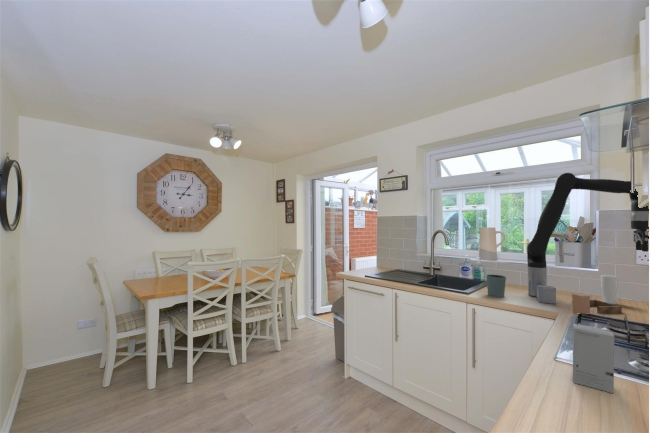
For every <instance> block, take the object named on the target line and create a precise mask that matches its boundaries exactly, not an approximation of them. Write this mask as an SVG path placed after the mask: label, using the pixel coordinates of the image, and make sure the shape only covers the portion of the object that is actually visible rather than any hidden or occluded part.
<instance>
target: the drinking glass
mask: <svg viewBox="0 0 650 433" xmlns="http://www.w3.org/2000/svg"><path fill="white" fill-rule="evenodd" d="M618 279H619V278H618V276H617V275H612V274H601V275H600V286H601V288H600V289H601V294H602V296H601V297H602V302H606V303H610V304H614V305H617V298H618V296H617V295H618V288H619V287H618V286H619V280H618Z"/></svg>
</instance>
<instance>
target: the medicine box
mask: <svg viewBox="0 0 650 433" xmlns="http://www.w3.org/2000/svg"><path fill="white" fill-rule="evenodd" d="M536 301H537V302H538V303H541V304H542V303H543V304H554V305H555V304H557V288H556V287H555V286H553V285H552V286H551V285H550V286H549V285H547V286H538V285H537V297H536Z"/></svg>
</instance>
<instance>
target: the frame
mask: <svg viewBox="0 0 650 433" xmlns="http://www.w3.org/2000/svg"><path fill="white" fill-rule="evenodd" d="M590 307H596V313H597V312H598V313H597V314H619V313H620V314H622V312H623V309H622V308H623V307H622V306H621V305H617V304H610V303H606V302H603V300H602V301H601V300H597V299H590Z"/></svg>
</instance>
